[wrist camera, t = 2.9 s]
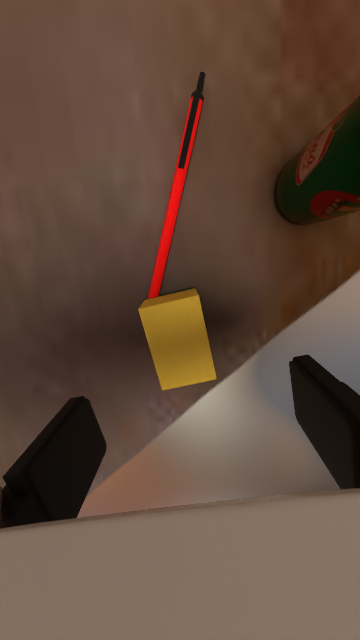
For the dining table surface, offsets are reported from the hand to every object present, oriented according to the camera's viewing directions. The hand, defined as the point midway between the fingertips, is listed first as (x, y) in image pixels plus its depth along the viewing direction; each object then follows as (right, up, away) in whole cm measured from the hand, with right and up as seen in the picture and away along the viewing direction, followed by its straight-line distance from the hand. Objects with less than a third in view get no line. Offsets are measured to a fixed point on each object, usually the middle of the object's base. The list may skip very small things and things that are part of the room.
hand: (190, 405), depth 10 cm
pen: (-1, +12, +8) cm, 15 cm away
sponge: (-1, +3, +11) cm, 11 cm away
